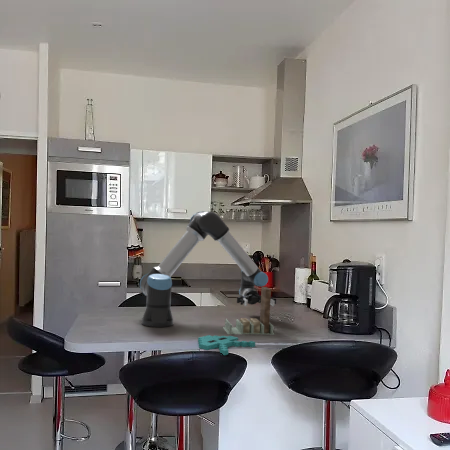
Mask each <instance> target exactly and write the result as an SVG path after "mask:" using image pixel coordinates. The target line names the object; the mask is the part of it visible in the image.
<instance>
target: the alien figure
mask: <svg viewBox="0 0 450 450" xmlns="http://www.w3.org/2000/svg"><path fill="white" fill-rule="evenodd" d="M197 345H198V348H199V349H202V350H205V351H209V350H213V349H217V348H218V350H219V354H220V353H222V354H223V356H227V355H229V352H230V351H229V349H228V348H229V347H236V348H237V347H243V348H245V347H250V348H255V347H256V341H253V340H250V341H249V340H248V341H246V340H242V341H240V340H239V337H236V336H233V335H228V336H226V335H210V334H208V335H204V336H200V337H198V338H197ZM222 354H221V355H222Z"/></svg>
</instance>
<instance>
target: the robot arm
mask: <svg viewBox="0 0 450 450" xmlns="http://www.w3.org/2000/svg"><path fill="white" fill-rule="evenodd" d="M207 236H210V237H211V238H212V239H213V240H214V242H218V243H219V245H220V246H221V248H223V249H224V251H225V252H226V253H227V254H228V255H229V256H230V258H231V259H232V260H233V262H234V263H235V264H236V265H237V266H238V267H239V269H240V271H241V272H240V274H241V275H240V276H241V277H240V288H239V290H238V293H239V296H238V297H237V298H236V303H237V304H240V305H241V306H242V305H243V306H245V307H248V304H249V305H251V306H252V305H256V304H257V303H259V304H261V295H260V294H259V293H258V292H257V291H256V290H255V286H256V287H261V288H262V287H266V285H267V283H268V282H269V277H268V275H267V273H265V272H264V271H262V270H261V269H260V267H258V266H257V264H256V263H255V262H254V260H253V259H252V258H251V257H250V256H249V255H248V253H247V251H245V250H244V248H243V247H242V246H241V245H240V243H239V242H238V240H236V238H235V237H234V236H233V235H232V233H231V232H230V228H229V227H228V226H227V223H225V222H224V220H223V219H222V217H220V216H219V214H217V213H216V212H214V211H209V210H208V211H203V210H202V211H198V212H196V213H194V214H192V216H191V217H190V219H189V222H188V224H187V225H186V227H185V232H184V233H183V234H182V236H181V237H180V238H179V240H177V242H176V243H175V244H174V246H173V247H172V248H171V249H170V250H169V252H168V253H167V254H166V256H165V257H164V258H162V259H163V260H162V261H160V263H159V264H158V266H153V267H152V268H151V269H150V271H148V273H146V274H144V275H143V276H142V277H141V278H140V281H139V288H140V291H141V293H142V294H143V295H144V296H146V303H145V310H144V313H143V315H142V318H141V324H142V326H143V325H144V327H145V326H146V327H150V328H151V327H153V328H166V327H171V326H173V325H174V317H173V313H172V310H171V302H172V286H173V281H172V276H173V275H174V274H175V272H176V271H177V270H178V268H179V267H180V266H181V264H182V263H183V262H184V261H185V260H186V258H187V257H188V256H189V255H190V253H191V252H192V251H193V249H195V247H196V246H197V245H198V243H199V242H202V241H204V240H205V239H206V238H207ZM276 304H277V298H274V297H272V296H271V300H270V307H273V308H274V307H275V305H276Z"/></svg>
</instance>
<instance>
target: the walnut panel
mask: <svg viewBox="0 0 450 450" xmlns="http://www.w3.org/2000/svg"><path fill="white" fill-rule="evenodd" d="M260 293H261V294H260V296H261V303H260V306H259V307H260V310H259V311H260V312H259V321H260V322H261V323H262V324H263V325H264V333H269V322H270V315H271V305H270V300H271V298H272V296H271V295H272V289H271V288H269V287H267V286H262V287H261V292H260Z"/></svg>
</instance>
